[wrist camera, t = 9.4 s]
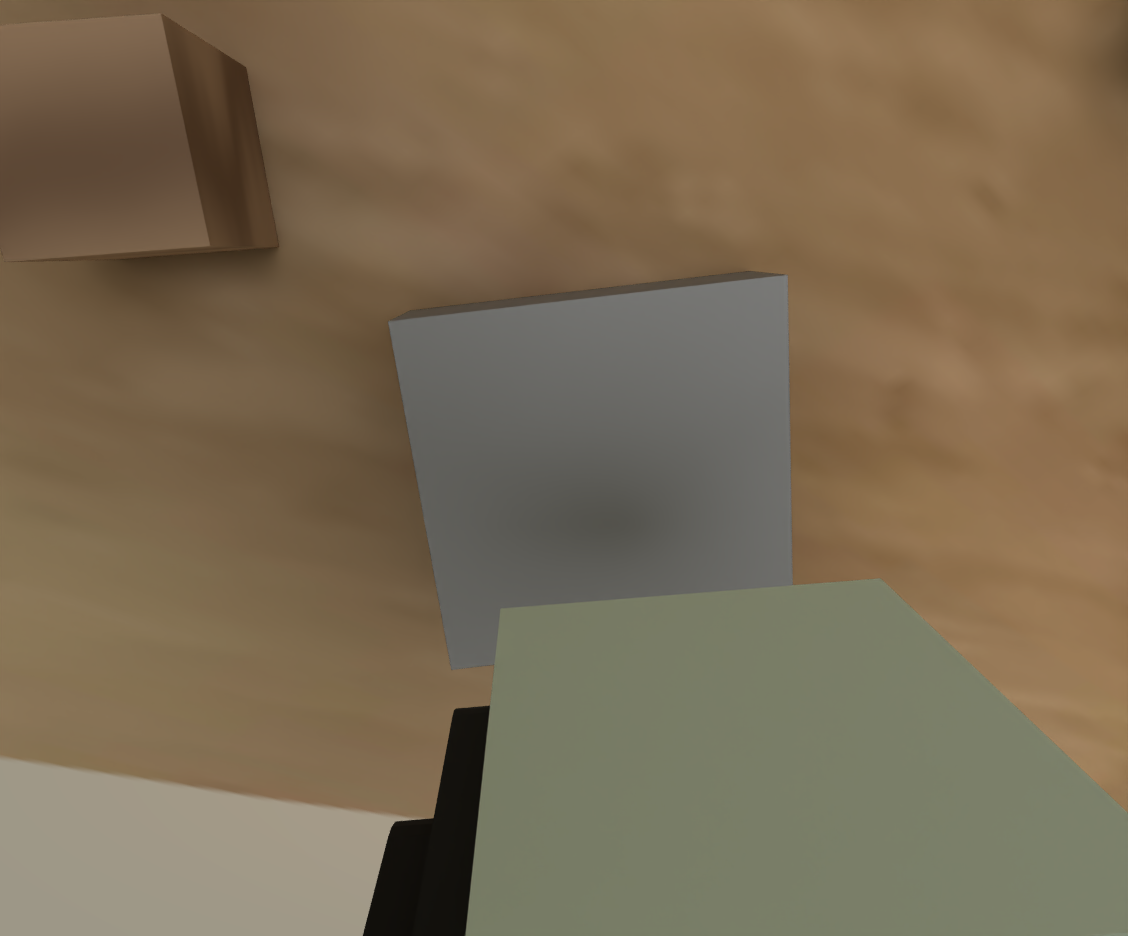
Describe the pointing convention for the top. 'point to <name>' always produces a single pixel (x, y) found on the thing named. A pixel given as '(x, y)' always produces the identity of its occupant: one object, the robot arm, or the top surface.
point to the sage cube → (775, 779)
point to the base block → (599, 446)
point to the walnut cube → (126, 143)
